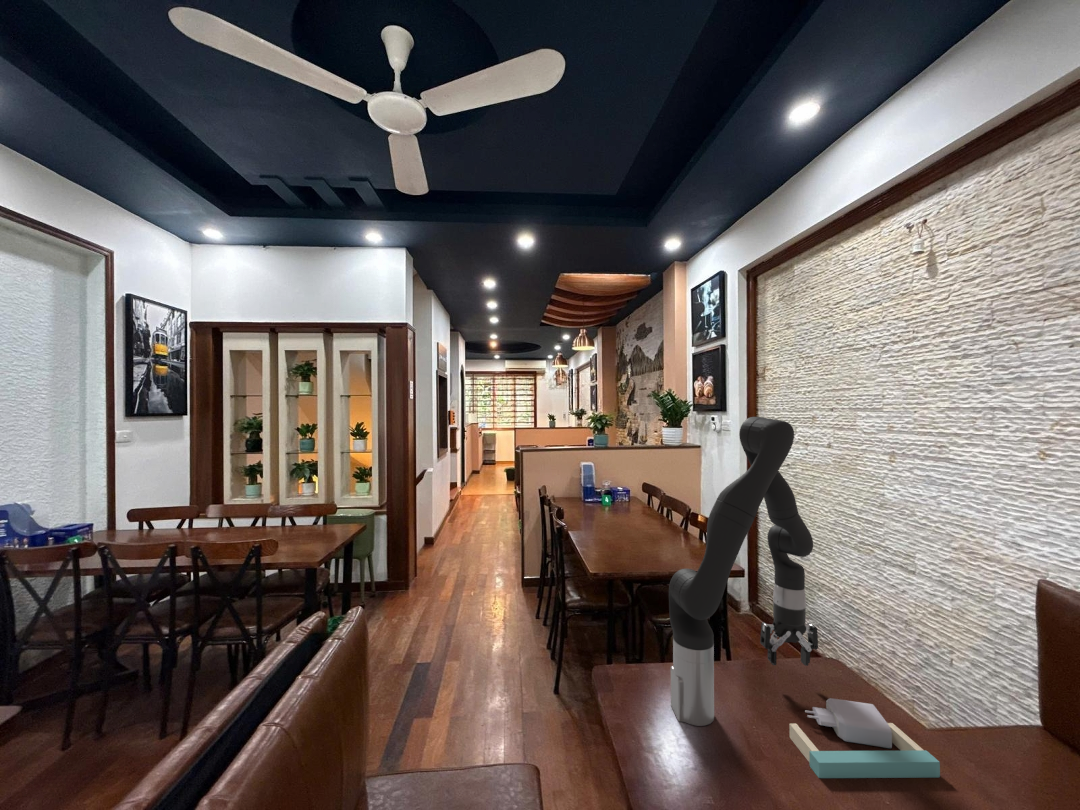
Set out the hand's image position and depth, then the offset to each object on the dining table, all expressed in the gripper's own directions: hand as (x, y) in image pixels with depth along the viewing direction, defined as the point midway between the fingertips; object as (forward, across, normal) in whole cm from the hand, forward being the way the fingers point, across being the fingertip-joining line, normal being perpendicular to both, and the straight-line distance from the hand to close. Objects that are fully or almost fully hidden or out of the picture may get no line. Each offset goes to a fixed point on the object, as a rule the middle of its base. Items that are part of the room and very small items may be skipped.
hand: (788, 663), depth 118 cm
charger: (+6, +3, -17) cm, 18 cm away
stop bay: (+5, 0, -25) cm, 25 cm away
